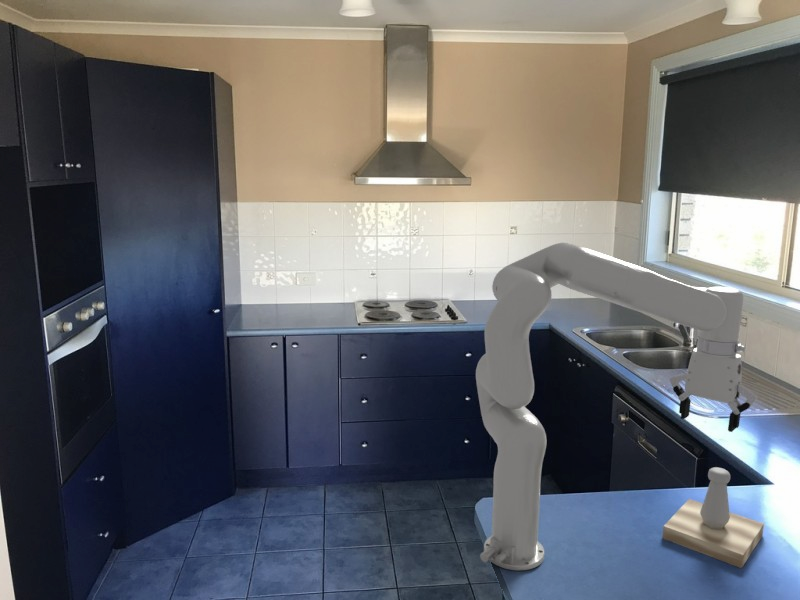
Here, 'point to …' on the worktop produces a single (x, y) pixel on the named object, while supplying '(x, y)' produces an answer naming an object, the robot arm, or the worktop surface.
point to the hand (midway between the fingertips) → (707, 423)
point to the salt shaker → (716, 500)
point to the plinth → (714, 534)
